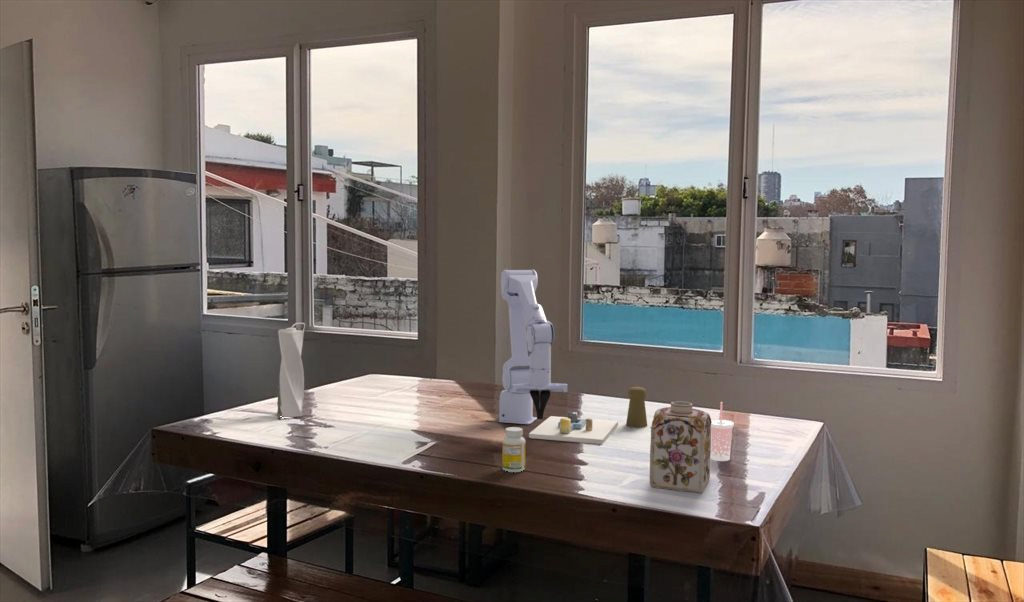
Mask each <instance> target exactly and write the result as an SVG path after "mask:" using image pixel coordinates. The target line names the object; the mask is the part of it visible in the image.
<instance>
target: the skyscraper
mask: <svg viewBox="0 0 1024 602" xmlns="http://www.w3.org/2000/svg"><path fill="white" fill-rule="evenodd" d="M296 325H303V328H302V330H299V329H298V330H297V327H295V326H296ZM305 328H306V322H303V321H302V322H295V323H294V324H292V325H291V327H286V328H284V329H283V328H281V329H278V330H277V332H278V343H279V349H280V355H281V361H280V368H279V370H280V371H279V372H278V379H277V381H278V387H277V401H276V403H277V405H276V406H277V411H276V415H278V416H277V419H278V418H282V417H296V416H303V413H302V412H303V406H304V405H303V404H304V397H305V395H304V394H305V373H304V371H305V370H304V366H303V360H302V351H303V345H304V335H305ZM282 414H283V416H282ZM280 416H282V417H280Z"/></svg>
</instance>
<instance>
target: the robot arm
mask: <svg viewBox="0 0 1024 602" xmlns="http://www.w3.org/2000/svg"><path fill="white" fill-rule="evenodd" d="M537 273H538V272H537V271H536V270H535V269H503V270H502V272H501V273H500V275H501V276H500V294H501V298H502V299H503V300H504V301H506V302H507V307H508V318H509V319H508V320H509V335H510V336H509V337H510V350H511V357H510V358H509V359H507V360H506V361H505V362H504V363H503V365H502V376H501V380H502V386H503V388H504V389H503V390H501V391H500V395H499V399H498V400H499V401H498V402H499V407H498V408H499V409H498V411H499V415H498V416H499V417H498V418H499V419H498V422H499V423H508V424H519V425H531V424H532V423H534V422H535V421H536V420H543V418H544V413H545V409H546V406H547V404H548V402H549V400H550V397H551V392H555V393H556V392H557V393H558V392H563V393H568V384H567V383H558V382H557V383H556V382H555V383H554V382H552V380H551V379H552V377H551V375H552V366H551V365H552V359H551V358H552V345H553V344H554V341H555V328H554V325H553V323H552V322H551V321H550V320H547V317H546V315H545V311H544V309H543V306H542V304H539V303H538V302H537V297H536V291H537V288H538V283H539V282H538V281H539V279H538V274H537ZM528 352H529V353H528ZM534 407H535V413H536V416H533V415H534V414H533V411H534V409H533V408H534Z"/></svg>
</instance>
